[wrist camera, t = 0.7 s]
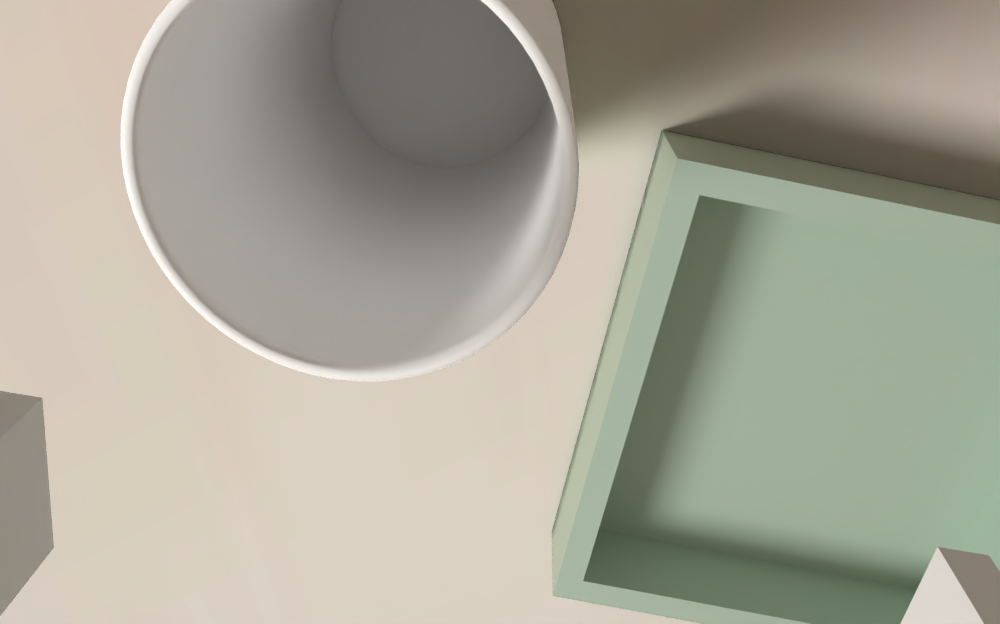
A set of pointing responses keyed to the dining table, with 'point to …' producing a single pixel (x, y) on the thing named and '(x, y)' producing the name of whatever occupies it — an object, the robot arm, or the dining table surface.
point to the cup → (354, 173)
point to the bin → (787, 395)
